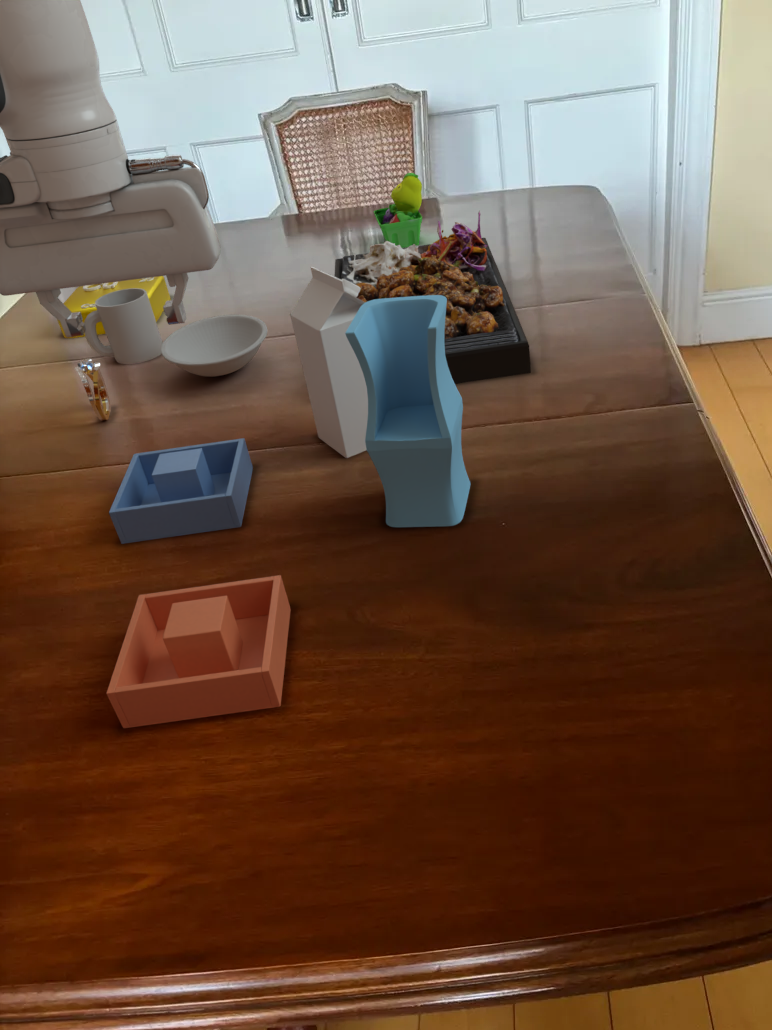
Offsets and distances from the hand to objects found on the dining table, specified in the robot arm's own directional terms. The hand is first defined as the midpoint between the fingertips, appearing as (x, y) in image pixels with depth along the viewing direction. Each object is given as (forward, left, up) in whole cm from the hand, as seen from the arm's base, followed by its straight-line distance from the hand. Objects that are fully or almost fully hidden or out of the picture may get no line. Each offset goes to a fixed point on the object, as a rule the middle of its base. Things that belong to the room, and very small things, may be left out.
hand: (127, 328), depth 83 cm
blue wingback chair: (+25, -7, -20) cm, 33 cm away
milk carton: (+18, +10, -20) cm, 29 cm away
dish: (-1, +36, -20) cm, 41 cm away
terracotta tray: (+6, -27, -20) cm, 34 cm away
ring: (-15, +26, -20) cm, 36 cm away
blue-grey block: (0, 0, -19) cm, 19 cm away
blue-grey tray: (0, 0, -20) cm, 20 cm away
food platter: (+27, +43, -20) cm, 55 cm away
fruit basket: (+26, +85, -20) cm, 91 cm away
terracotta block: (+6, -27, -19) cm, 34 cm away
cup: (-16, +46, -20) cm, 53 cm away
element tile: (-22, +65, -20) cm, 71 cm away
